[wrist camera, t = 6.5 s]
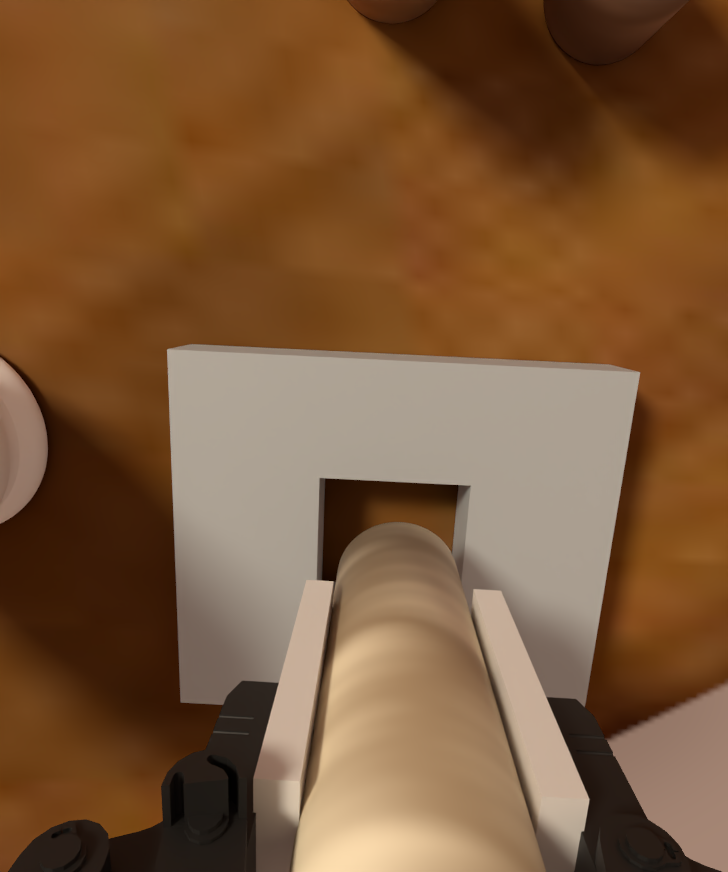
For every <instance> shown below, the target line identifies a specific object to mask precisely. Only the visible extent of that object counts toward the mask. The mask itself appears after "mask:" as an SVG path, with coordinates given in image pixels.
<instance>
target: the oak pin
mask: <svg viewBox="0 0 728 872" xmlns="http://www.w3.org/2000/svg"><path fill="white" fill-rule="evenodd" d="M348 2H349V3H350V4H351V5H352V6H353V7H354V8H355V9H356V10H357V11H358V12H360V13H361V14H363V15H364V16H366V17H367V18H370V19H372V20H374V21H378V22H381V23H388V24H395V23H403V22H407V21H410V20H413V19H415V18H417V17H419V16H421V15H422V14H423V13H425V12H426V11H428V10H429V9H430V8H431V7H432V6H433V5H434V4H435V3H436V2H437V0H348Z"/></svg>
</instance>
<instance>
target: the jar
mask: <svg viewBox="0 0 728 872" xmlns="http://www.w3.org/2000/svg"><path fill="white" fill-rule="evenodd" d="M47 456H48V441H47V432H46V427H45V423H44V419H43V416H42V413H41V410H40V408H39V406H38V404H37V402H36V400H35V398H34V396H33V394H32V392H31V391H30V389H29V388H28V386H27V385H26V384H25V382H24V381H23V379H22V378H21V377H20V376H19V375H18V373H17V372H16V371H15V370H14V369H13V368H12V367H11V366H10V365H9V364H8V363H7V362H5V361H4V360H3V359H2V358H1V357H0V524H1V523H3V522H5V521H6V520H8V519H10V518H11V517H13V516H14V515H15V514H17V513H18V512H19V511H20V510H21V509H23V508H24V507H25V506H26V504H27V503H28V502H29V501H30V500H31V498H32V497H33V496H34V494H35V493H36V491H37V489H38V487H39V485H40V483H41V481H42V478H43V476H44V472H45V469H46V464H47Z"/></svg>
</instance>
